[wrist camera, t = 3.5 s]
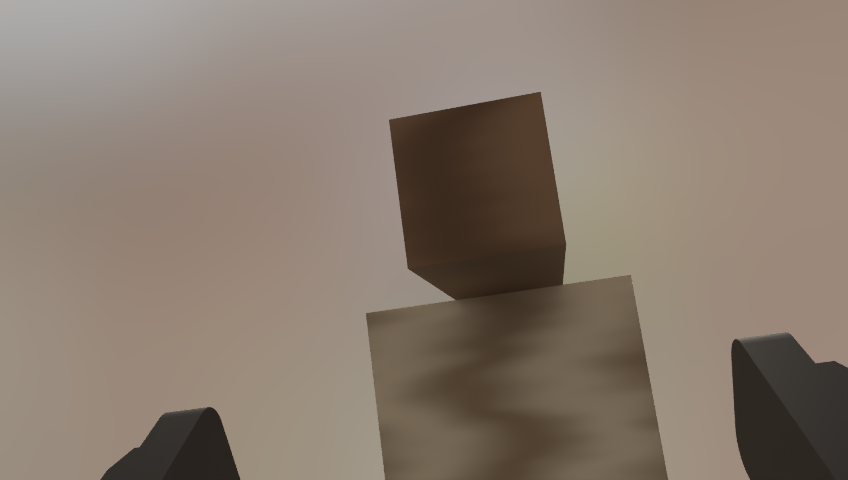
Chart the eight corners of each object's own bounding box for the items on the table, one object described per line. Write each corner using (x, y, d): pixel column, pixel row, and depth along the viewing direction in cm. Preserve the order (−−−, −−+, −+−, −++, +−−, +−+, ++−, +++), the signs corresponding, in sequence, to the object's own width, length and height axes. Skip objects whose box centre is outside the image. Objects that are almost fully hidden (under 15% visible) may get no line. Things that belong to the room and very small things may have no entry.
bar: (407, 268, 19) (389, 119, 20) (491, 323, 45) (482, 257, 45) (566, 244, 19) (540, 91, 19) (560, 313, 44) (549, 246, 45)
